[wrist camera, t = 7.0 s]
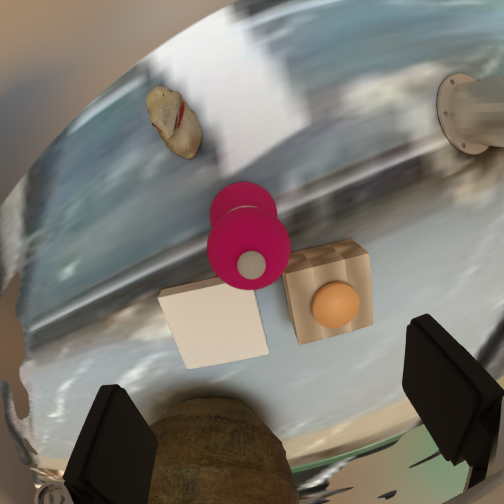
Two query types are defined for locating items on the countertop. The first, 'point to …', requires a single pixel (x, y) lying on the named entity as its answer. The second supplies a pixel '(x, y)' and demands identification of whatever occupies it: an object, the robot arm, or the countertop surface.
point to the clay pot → (218, 457)
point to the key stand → (320, 274)
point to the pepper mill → (247, 237)
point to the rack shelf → (213, 322)
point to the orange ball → (335, 305)
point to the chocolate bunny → (174, 121)
